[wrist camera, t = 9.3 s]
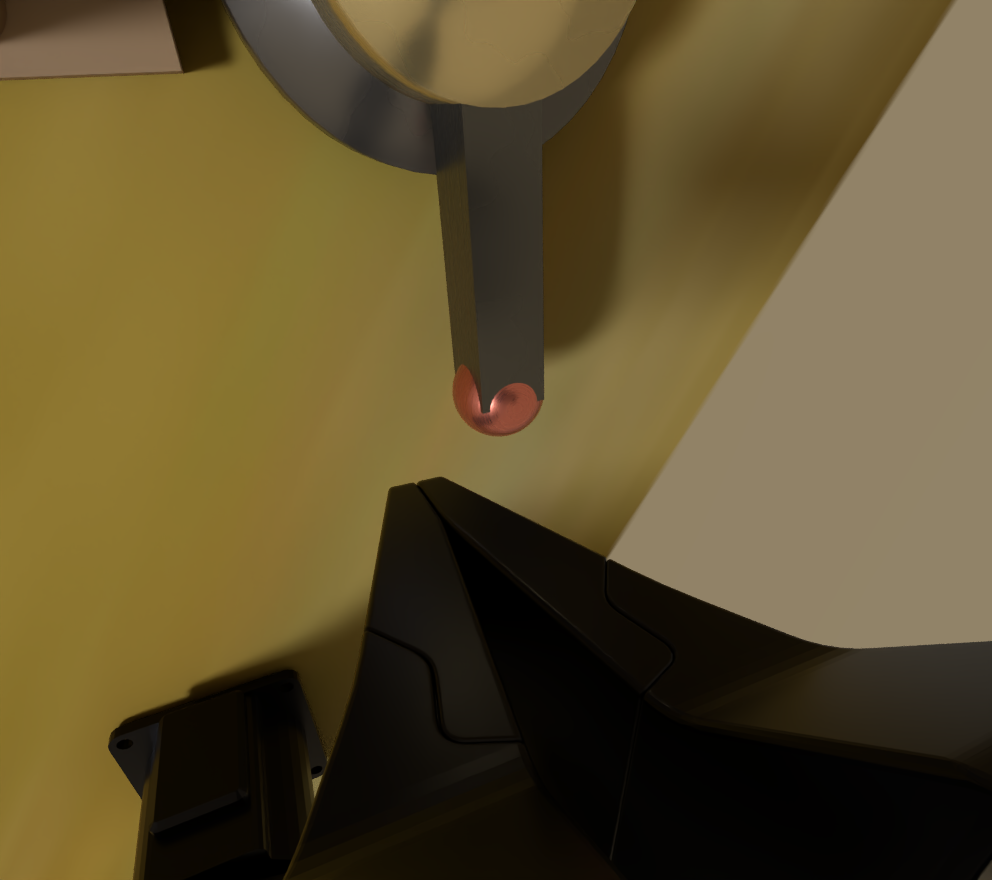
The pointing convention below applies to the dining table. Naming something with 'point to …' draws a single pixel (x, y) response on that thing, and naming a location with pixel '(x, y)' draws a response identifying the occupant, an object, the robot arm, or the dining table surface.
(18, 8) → the rack
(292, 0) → the nut base
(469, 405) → the grey red-tipped part
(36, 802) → the dining table surface
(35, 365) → the dining table surface
